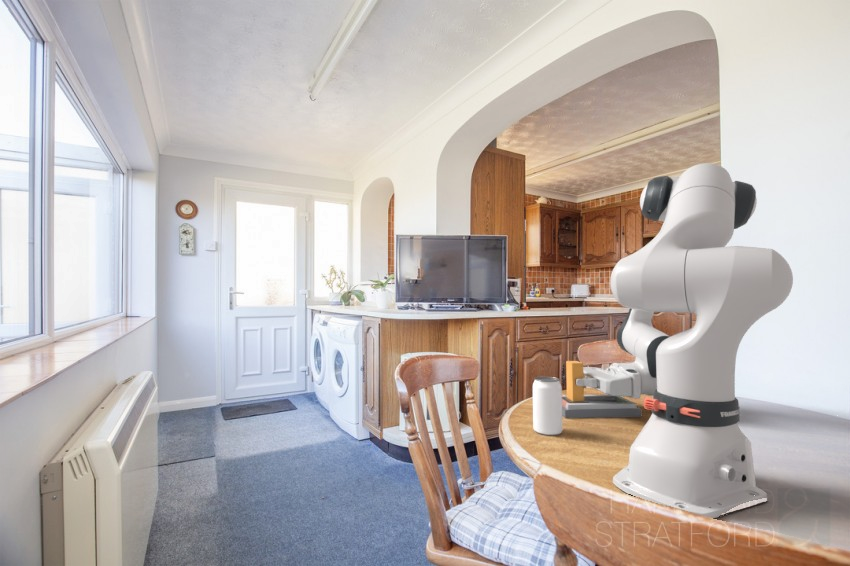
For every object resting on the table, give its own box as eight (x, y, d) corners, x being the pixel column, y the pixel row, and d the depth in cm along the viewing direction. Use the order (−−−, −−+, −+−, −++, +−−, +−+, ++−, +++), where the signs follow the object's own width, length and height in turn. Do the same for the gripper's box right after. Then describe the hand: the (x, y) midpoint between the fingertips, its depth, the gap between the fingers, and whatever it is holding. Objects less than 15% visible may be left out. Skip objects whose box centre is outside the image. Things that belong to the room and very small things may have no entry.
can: (565, 429, 92) (564, 377, 93) (558, 438, 87) (557, 382, 87) (537, 425, 96) (537, 375, 96) (529, 432, 90) (528, 379, 91)
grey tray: (618, 405, 113) (618, 393, 113) (641, 416, 102) (641, 404, 102) (549, 406, 112) (549, 394, 112) (565, 418, 101) (565, 405, 101)
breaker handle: (579, 400, 110) (578, 360, 110) (589, 405, 104) (588, 363, 104) (561, 400, 110) (561, 360, 110) (570, 406, 104) (569, 364, 104)
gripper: (602, 361, 118) (557, 362, 117) (643, 374, 98) (588, 375, 97) (603, 382, 118) (557, 383, 117) (643, 400, 97) (588, 401, 97)
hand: (571, 379), depth 107 cm, fingers closed on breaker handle, 4 cm apart
